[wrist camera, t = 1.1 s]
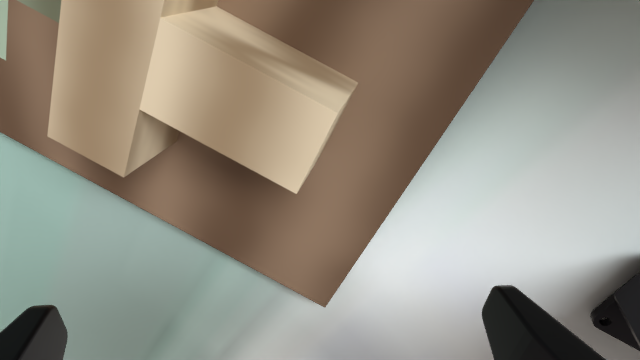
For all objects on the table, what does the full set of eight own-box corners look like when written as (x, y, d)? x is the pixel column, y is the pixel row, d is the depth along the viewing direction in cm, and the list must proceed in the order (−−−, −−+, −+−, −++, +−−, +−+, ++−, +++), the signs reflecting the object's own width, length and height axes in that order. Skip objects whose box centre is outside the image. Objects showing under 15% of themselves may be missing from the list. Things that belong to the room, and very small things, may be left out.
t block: (398, 4, 15) (387, 16, 12) (294, 205, 21) (266, 254, 17) (157, -125, 16) (77, -150, 12) (113, 107, 21) (47, 136, 17)
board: (586, -89, 14) (596, -93, 13) (329, 294, 24) (324, 307, 23) (-114, -465, 14) (-151, -493, 13) (-76, 76, 24) (-96, 80, 23)
